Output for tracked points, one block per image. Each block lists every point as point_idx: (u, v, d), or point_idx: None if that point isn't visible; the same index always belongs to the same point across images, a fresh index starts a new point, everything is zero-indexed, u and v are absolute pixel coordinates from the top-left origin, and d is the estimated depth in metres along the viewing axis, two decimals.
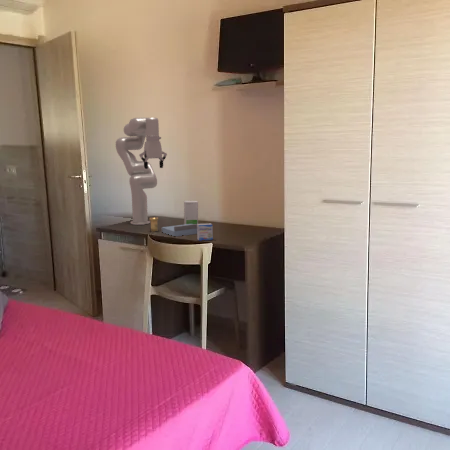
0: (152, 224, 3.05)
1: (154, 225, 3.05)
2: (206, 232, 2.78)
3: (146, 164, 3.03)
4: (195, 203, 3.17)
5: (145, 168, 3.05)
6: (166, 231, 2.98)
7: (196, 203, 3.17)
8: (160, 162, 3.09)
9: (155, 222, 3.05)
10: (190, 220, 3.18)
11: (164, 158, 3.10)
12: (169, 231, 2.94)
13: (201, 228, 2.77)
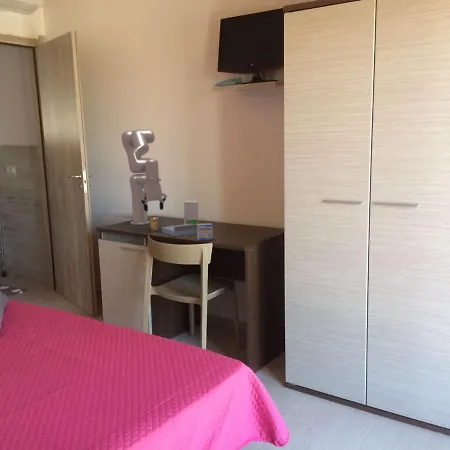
0: (152, 224, 3.05)
1: (154, 225, 3.05)
2: (206, 232, 2.78)
3: (146, 207, 3.00)
4: (195, 203, 3.17)
5: (145, 210, 3.02)
6: (166, 231, 2.98)
7: (196, 203, 3.18)
8: (160, 204, 3.06)
9: (155, 222, 3.05)
10: (190, 220, 3.18)
11: (164, 200, 3.06)
12: (169, 231, 2.94)
13: (201, 228, 2.77)
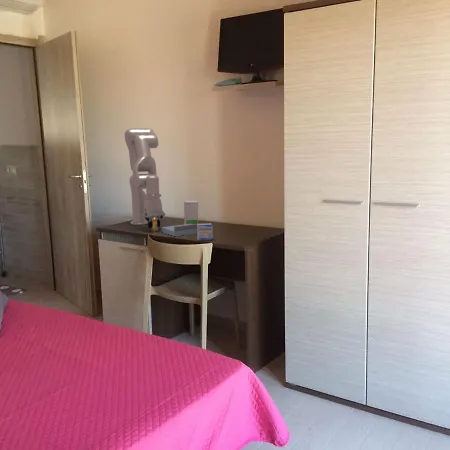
0: (152, 224, 3.05)
1: (154, 225, 3.05)
2: (206, 232, 2.78)
3: (150, 224, 3.04)
4: (195, 203, 3.17)
5: (149, 227, 3.06)
6: (166, 231, 2.98)
7: (196, 203, 3.18)
8: (157, 221, 3.07)
9: (155, 222, 3.05)
10: (190, 220, 3.18)
11: (161, 217, 3.07)
12: (169, 231, 2.94)
13: (201, 228, 2.77)
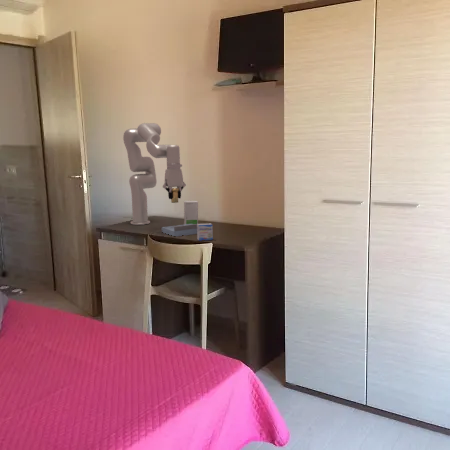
0: (173, 195, 2.97)
1: (175, 196, 2.97)
2: (206, 232, 2.78)
3: (170, 194, 2.96)
4: (195, 203, 3.17)
5: (169, 198, 2.98)
6: (166, 231, 2.98)
7: (196, 203, 3.18)
8: (178, 192, 3.00)
9: (176, 193, 2.97)
10: (190, 220, 3.18)
11: (182, 188, 3.00)
12: (169, 231, 2.94)
13: (201, 228, 2.77)
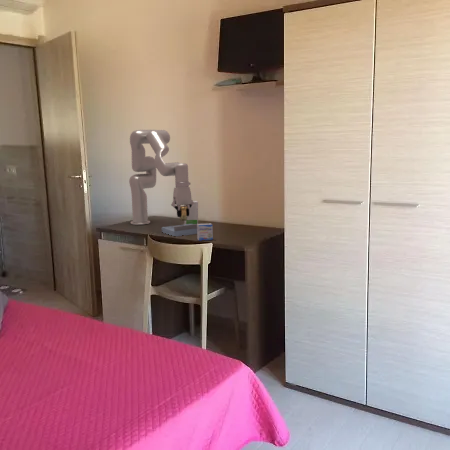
0: (181, 213, 2.98)
1: (183, 214, 2.98)
2: (206, 233, 2.78)
3: (179, 212, 2.97)
4: (195, 203, 3.17)
5: (178, 216, 2.99)
6: (166, 231, 2.98)
7: (196, 203, 3.17)
8: None
9: (184, 211, 2.98)
10: (190, 220, 3.18)
11: (190, 206, 3.01)
12: (169, 231, 2.94)
13: (201, 228, 2.77)
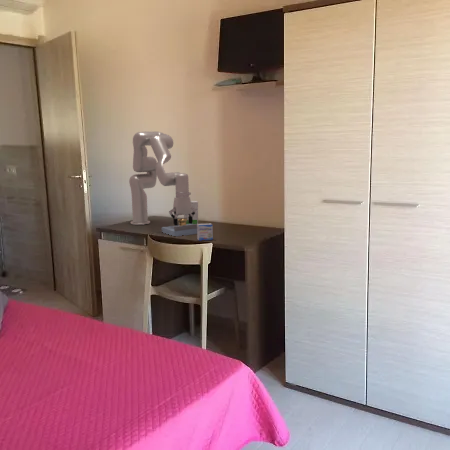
0: (181, 225, 2.99)
1: None
2: (206, 232, 2.78)
3: (176, 221, 2.97)
4: (195, 203, 3.17)
5: None
6: (166, 231, 2.98)
7: (196, 203, 3.17)
8: (189, 218, 3.03)
9: (184, 223, 2.99)
10: None
11: (193, 214, 3.03)
12: (169, 231, 2.94)
13: (201, 228, 2.77)
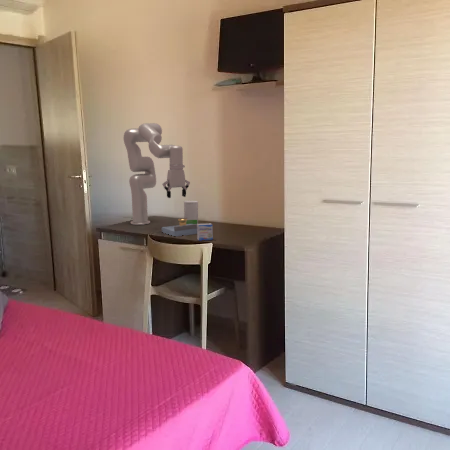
0: (181, 225, 2.99)
1: None
2: (206, 232, 2.78)
3: (169, 193, 2.97)
4: (195, 203, 3.17)
5: (168, 197, 2.99)
6: (166, 231, 2.98)
7: (196, 203, 3.17)
8: (183, 191, 3.03)
9: (184, 223, 2.99)
10: (190, 220, 3.18)
11: (187, 187, 3.03)
12: (169, 231, 2.94)
13: (201, 228, 2.77)
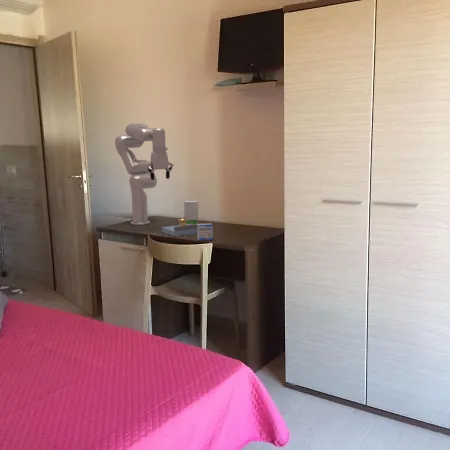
0: (181, 225, 2.99)
1: None
2: (206, 232, 2.78)
3: (152, 175, 3.02)
4: (195, 203, 3.17)
5: (151, 179, 3.04)
6: (166, 231, 2.98)
7: (196, 203, 3.17)
8: (166, 173, 3.08)
9: (184, 223, 2.99)
10: (190, 220, 3.18)
11: (170, 169, 3.08)
12: (169, 231, 2.94)
13: (201, 228, 2.77)
